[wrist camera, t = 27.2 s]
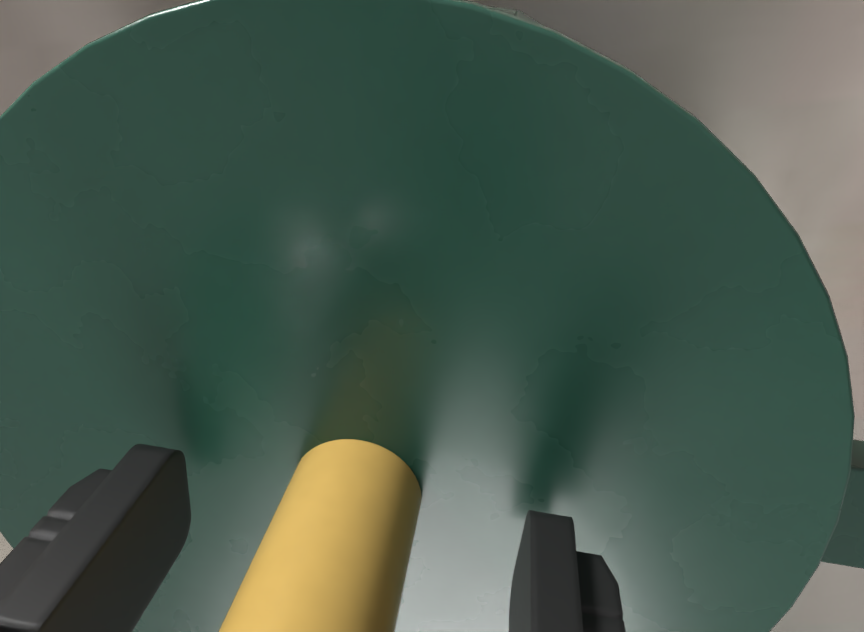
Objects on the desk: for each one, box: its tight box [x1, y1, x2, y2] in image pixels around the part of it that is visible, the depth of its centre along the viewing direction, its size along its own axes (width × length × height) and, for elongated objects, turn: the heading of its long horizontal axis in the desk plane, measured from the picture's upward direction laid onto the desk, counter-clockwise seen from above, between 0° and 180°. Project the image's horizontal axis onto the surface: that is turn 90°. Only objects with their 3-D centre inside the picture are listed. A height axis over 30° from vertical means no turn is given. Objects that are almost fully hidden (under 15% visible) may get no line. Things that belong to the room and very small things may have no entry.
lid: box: [0, 0, 854, 632], centre depth 10 cm, size 17×17×6 cm
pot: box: [487, 6, 864, 569], centre depth 17 cm, size 16×21×10 cm
